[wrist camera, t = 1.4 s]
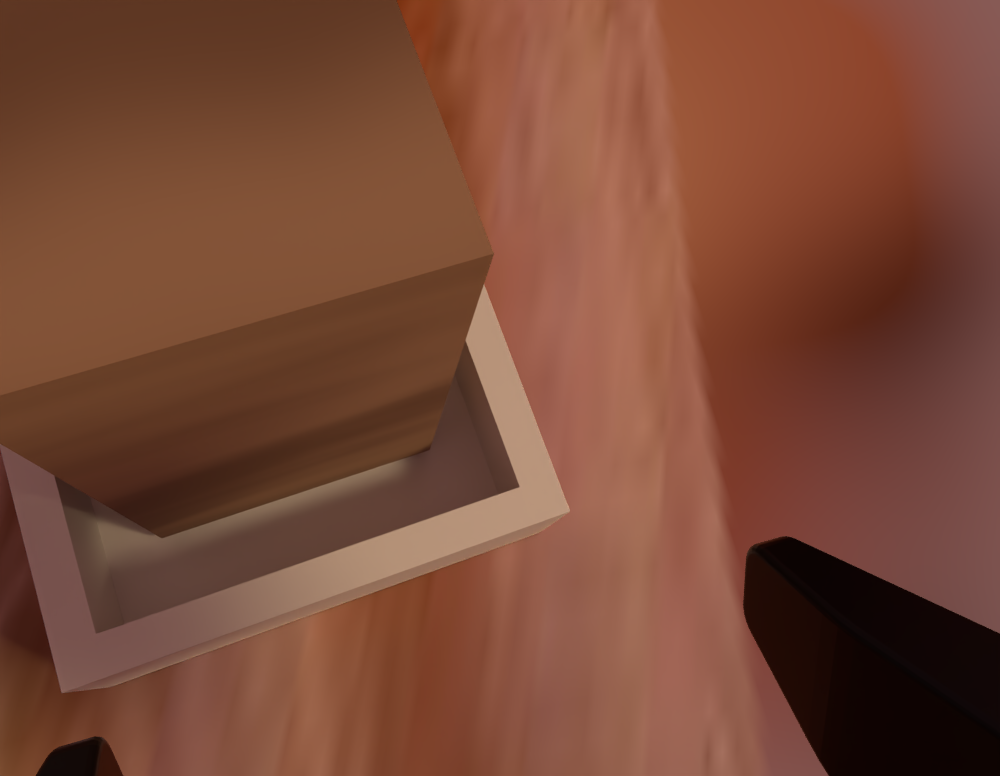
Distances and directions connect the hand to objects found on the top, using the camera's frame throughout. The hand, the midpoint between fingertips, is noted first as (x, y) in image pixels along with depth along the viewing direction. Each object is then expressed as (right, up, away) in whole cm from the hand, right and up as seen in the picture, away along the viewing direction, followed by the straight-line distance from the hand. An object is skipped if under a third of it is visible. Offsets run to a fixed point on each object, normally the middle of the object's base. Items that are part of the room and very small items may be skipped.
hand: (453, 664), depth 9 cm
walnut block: (-5, +3, +12) cm, 14 cm away
